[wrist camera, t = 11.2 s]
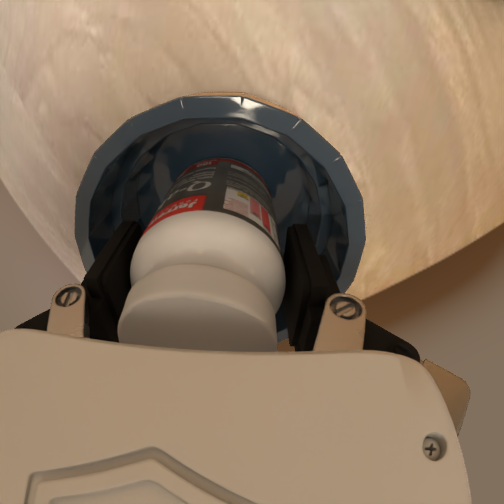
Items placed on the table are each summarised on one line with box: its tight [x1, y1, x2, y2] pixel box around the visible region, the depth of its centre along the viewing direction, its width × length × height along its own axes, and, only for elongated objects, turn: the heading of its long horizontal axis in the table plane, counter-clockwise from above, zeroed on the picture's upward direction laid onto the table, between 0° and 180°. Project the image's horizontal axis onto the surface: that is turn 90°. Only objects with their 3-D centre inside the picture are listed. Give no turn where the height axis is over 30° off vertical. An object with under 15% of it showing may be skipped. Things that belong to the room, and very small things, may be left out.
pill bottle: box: [118, 158, 286, 352], centre depth 12 cm, size 6×6×10 cm
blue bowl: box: [75, 92, 366, 342], centre depth 14 cm, size 13×13×6 cm
